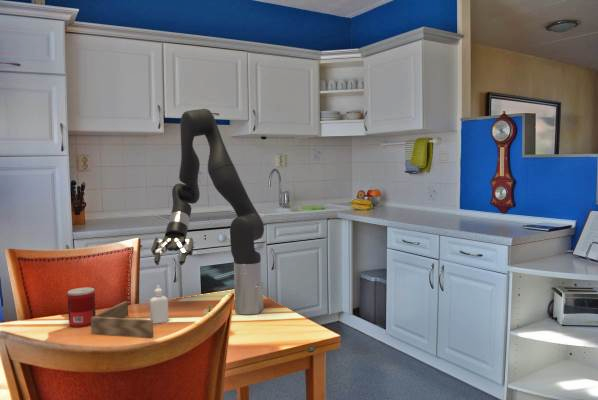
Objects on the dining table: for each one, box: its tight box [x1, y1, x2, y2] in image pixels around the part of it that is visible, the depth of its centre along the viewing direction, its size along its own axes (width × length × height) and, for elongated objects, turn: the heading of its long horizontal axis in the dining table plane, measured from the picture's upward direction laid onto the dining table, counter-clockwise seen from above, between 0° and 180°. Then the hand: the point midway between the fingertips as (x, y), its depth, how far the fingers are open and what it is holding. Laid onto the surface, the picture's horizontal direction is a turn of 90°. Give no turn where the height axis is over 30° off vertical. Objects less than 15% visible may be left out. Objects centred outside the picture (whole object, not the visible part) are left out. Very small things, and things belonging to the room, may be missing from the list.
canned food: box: [67, 286, 97, 328], centre depth 155 cm, size 8×8×11 cm
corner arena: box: [90, 300, 154, 339], centre depth 152 cm, size 20×18×5 cm
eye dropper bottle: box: [149, 284, 170, 325], centre depth 156 cm, size 4×6×12 cm
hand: (168, 263), depth 167 cm, fingers open, 8 cm apart
